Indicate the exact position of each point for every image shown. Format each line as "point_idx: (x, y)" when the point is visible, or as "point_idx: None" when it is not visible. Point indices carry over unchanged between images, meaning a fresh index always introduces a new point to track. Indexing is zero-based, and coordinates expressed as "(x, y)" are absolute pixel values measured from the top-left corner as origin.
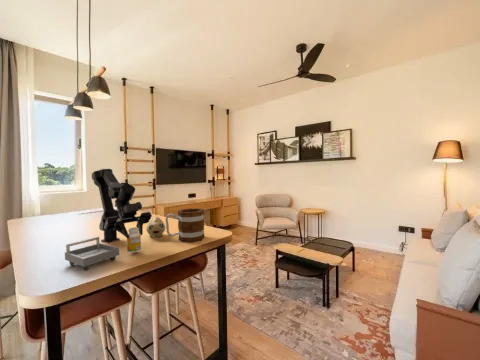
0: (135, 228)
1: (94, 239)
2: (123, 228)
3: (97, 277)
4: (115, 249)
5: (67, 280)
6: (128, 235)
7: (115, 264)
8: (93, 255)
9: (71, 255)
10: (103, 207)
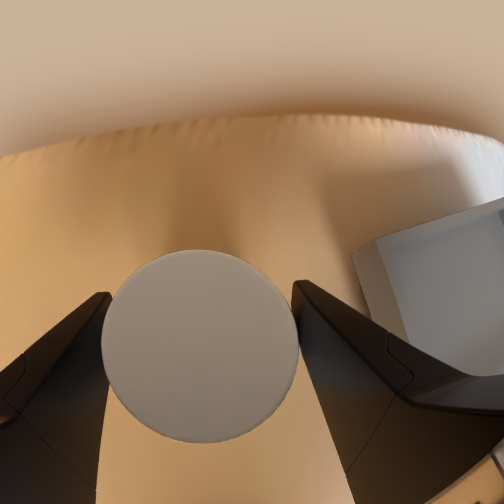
0: (165, 326)
1: None
2: (407, 349)
3: (424, 134)
4: (397, 233)
5: (496, 194)
6: (301, 287)
7: (363, 215)
8: (491, 208)
9: None
10: None
